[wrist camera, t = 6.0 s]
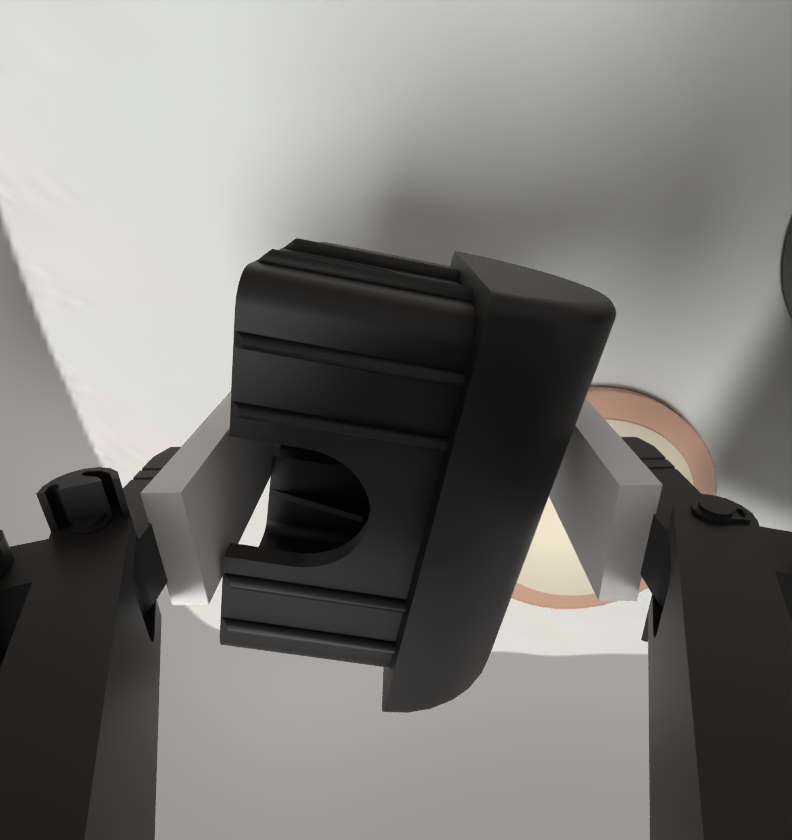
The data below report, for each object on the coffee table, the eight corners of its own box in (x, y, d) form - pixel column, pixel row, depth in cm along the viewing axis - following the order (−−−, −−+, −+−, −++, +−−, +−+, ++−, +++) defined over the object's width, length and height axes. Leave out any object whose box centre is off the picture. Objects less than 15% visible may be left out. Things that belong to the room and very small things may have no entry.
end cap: (471, 548, 18) (507, 734, 12) (276, 518, 18) (208, 694, 11) (558, 268, 14) (684, 329, 8) (306, 219, 13) (224, 242, 7)
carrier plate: (730, 381, 31) (748, 391, 29) (677, 591, 38) (689, 608, 36) (455, 391, 31) (458, 402, 30) (454, 596, 38) (456, 614, 37)
